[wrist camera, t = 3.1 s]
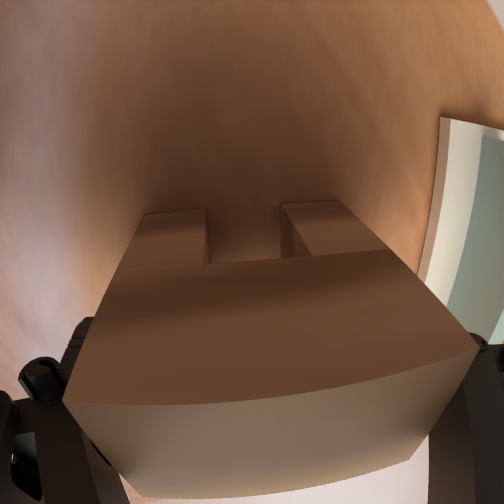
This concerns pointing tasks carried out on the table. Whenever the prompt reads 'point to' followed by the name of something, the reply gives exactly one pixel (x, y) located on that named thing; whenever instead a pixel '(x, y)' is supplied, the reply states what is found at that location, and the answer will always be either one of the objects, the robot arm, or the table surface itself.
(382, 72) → the table surface
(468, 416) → the robot arm
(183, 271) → the brown notched block
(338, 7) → the table surface
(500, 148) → the inverted t-shaped bar
